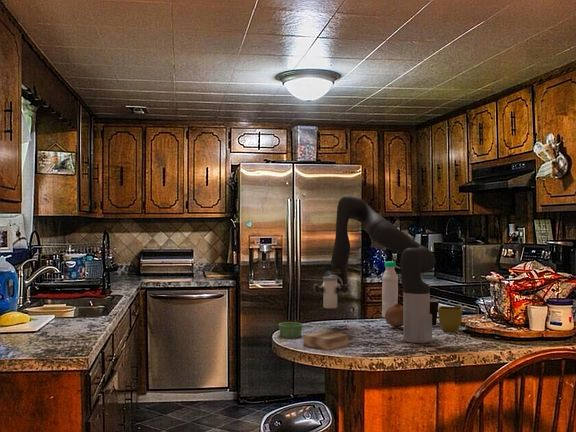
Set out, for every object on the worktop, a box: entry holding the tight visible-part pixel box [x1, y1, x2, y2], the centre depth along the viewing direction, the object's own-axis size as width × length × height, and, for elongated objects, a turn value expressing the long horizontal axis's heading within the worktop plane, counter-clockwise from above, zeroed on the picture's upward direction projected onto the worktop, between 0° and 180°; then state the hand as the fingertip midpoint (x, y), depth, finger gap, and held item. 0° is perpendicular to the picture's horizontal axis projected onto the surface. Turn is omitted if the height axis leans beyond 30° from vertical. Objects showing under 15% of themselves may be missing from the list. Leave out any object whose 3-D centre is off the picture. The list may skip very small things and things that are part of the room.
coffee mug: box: [430, 298, 440, 327], centre depth 232 cm, size 12×9×10 cm
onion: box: [384, 303, 403, 329], centre depth 222 cm, size 10×9×10 cm
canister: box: [322, 276, 338, 309], centre depth 201 cm, size 5×5×11 cm
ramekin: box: [278, 321, 304, 339], centre depth 206 cm, size 9×9×4 cm
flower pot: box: [437, 305, 463, 333], centre depth 217 cm, size 9×9×9 cm
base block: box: [302, 330, 349, 351], centre depth 190 cm, size 11×11×4 cm
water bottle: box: [381, 261, 399, 319], centre depth 248 cm, size 7×7×25 cm
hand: (329, 290), depth 199 cm, fingers closed on canister, 5 cm apart
